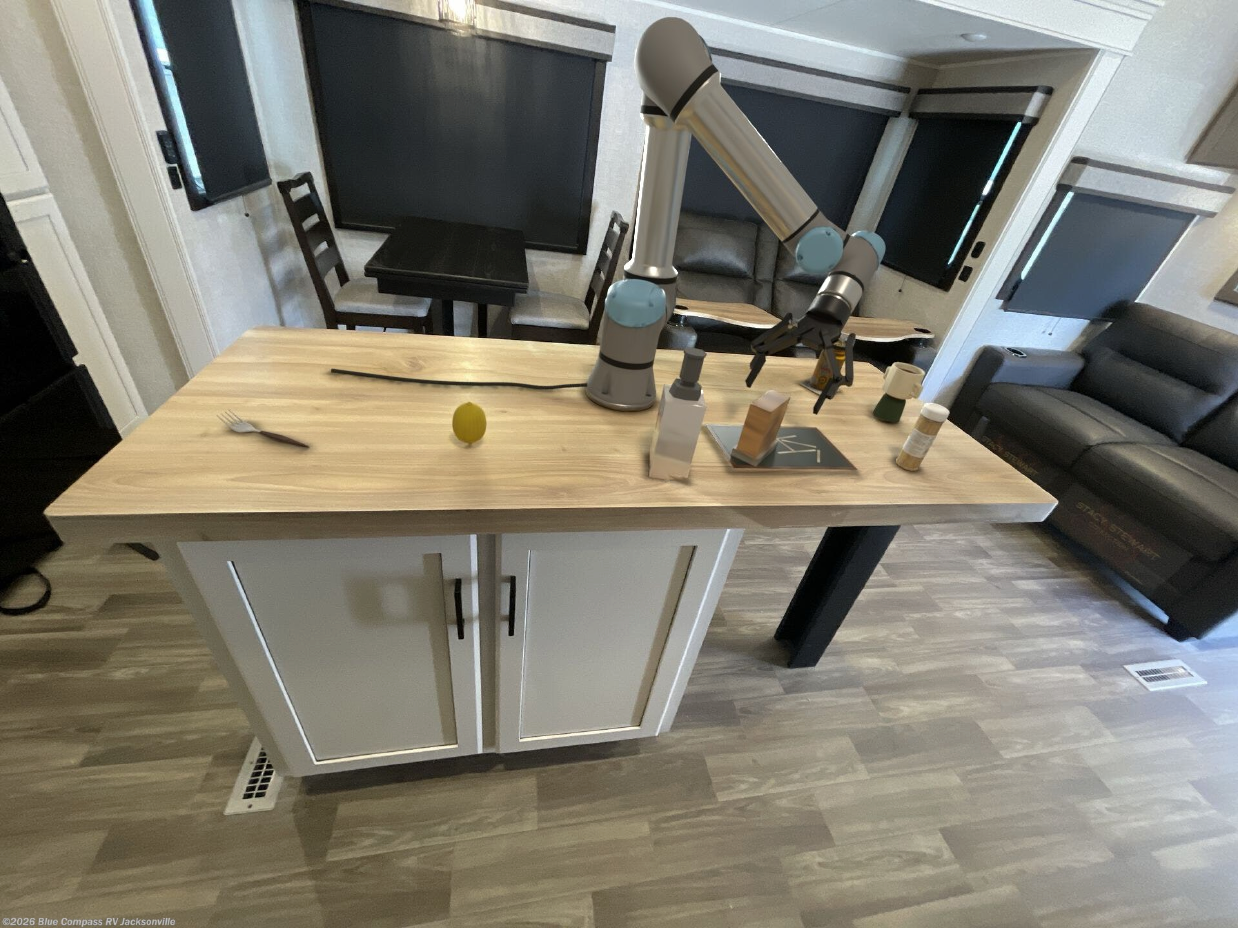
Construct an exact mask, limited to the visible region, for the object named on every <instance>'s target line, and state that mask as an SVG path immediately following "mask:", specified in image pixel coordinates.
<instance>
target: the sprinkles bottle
mask: <svg viewBox="0 0 1238 928" xmlns="http://www.w3.org/2000/svg"><path fill="white" fill-rule="evenodd" d="M949 416H950V410H949V409H948V408H947V407H945V406H943V405H941V404H938V403H935V402H926V403H924V405H923V406H922V408H921V410H920V413H919V416H918V418H917V420H916V422H915V424H914V426H913V427H912V429H911V431H910V433H909V434H908V437H907V438H906V440H905V442H904V444H903V446H902V449H901V450H900V452H899V455H898V456H897V457H896V459H895V463H896V465H897V466H898V467H900V468H902V469H904V470H907V471H910V472H917V471H918V470H919V469H920V466H921V464H922V463H923V461H924V459H925V458H926V456H927V454H928V452H929V451H930V449H931V447H932V446H933V443H934V441H935V440H936V437H937V436H938V435H939V432H940V429H941V428H942V426H943V425H944V423H945V422H946V421H947V419H948V417H949Z"/></svg>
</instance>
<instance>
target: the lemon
mask: <svg viewBox="0 0 1238 928" xmlns="http://www.w3.org/2000/svg"><path fill="white" fill-rule="evenodd" d="M451 425H452V426H451V427H452V431H453V434H454V436H455V437H456V438H457V439H458V440H459V441H460V442H462V443H466V444H467V445H472V444H473V443H477V442H479V441H480V440H482V438H483V437H484V435H485V433H486V430H487V425H488V423H487V417H486V414H485V411H484V409H483V408H482V407H481V406H480V405H478V404H476V403H475V402H472V401H467V402H464V403H461V404H460V405H459V406H457V407H456V409H455V410H454V412H453V415H452V421H451Z"/></svg>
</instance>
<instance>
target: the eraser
mask: <svg viewBox="0 0 1238 928" xmlns="http://www.w3.org/2000/svg"><path fill="white" fill-rule="evenodd" d="M790 401H791V396H789V395H786V394H784V393H782V392H779V391H776V390H775V389H770V390H768V391H766V392H765V393H764V394H762V395H761V396H760V397H758V398H756V399H755V400H754V401H753V402H751V403H750V404H749V408H748V411H747V414H746V417H745V419H744V423H743V425H744V426H743V429H742V432H741V435H740V438H739V442H738V444H737V445H736V446H735V447H734V448H733V449H732V452H731V455H732V456H734V457H736V458H738V459H740V460H742V461H744V462H746V463H749V464H751V465H753V466H755V467H756V466H757V465H758V464H759V463H760V462H761V461H762V460H764V459H765V458H766V457H767V456H768V455H769V454H770V453H771V452H772V451H773V450H774V449H775V448H776V447H777V444H778V441H777V440H776V437H777V434H778V431H779V429H780V426H782V423H783V420H784V418H785V414H786V412H787V410H788V406H789V404H790Z"/></svg>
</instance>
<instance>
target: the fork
mask: <svg viewBox="0 0 1238 928" xmlns="http://www.w3.org/2000/svg"><path fill="white" fill-rule="evenodd" d="M228 412H230V413H231V414H232V415H231V414H229V413H228ZM228 412H227V411H224V413H225V414H226V415H227V416H228V417H229V418H230V419H231V420H230V419H229V418H228V417H227V416H225V414H223V413H220V415H222V417H224V419H225V420H227V421H228V422H229V423H230V424H229V423H228V422H227V421H225V420H224V419H223V418H221V416H219V415H216V417H217V418H218V419H219V420H220V421H222V422H223V423H224V424H225V425H226V426H227V427H228V428H229V429H231V430H232V431H234V432H236V433H241V434H242V433H243V434H244V433H250V432H255V433H258V434H260V435H263V436H265V437H267V438H268V439H271V440H273V441H277V442H281V443H285V444H289V445H294V446H297V447H302V448H306V449H309V448H310V445H307V444H305V443H303V442H301V441H297V440H295V439H292V438H291V437H287V436H286V435H282V434H279V433H274V432H270V431H265V430H260V429H257V428H255V427H254V426H253V425H252V424H250V423H248V422H247V421H245V420H244V419H242V418H241V417H239V416H238V415H237V414H236V413H234V412H233V411H232V410H231V409H228ZM233 416H234V417H235V418H234V417H233ZM233 421H234V422H233Z"/></svg>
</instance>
